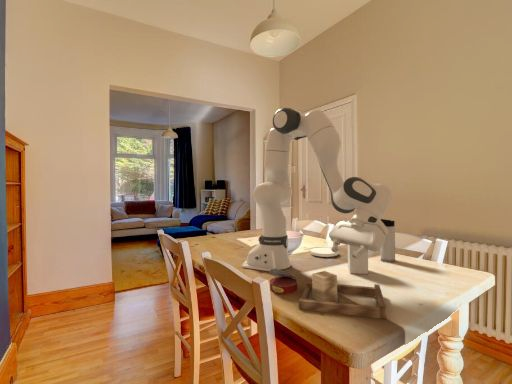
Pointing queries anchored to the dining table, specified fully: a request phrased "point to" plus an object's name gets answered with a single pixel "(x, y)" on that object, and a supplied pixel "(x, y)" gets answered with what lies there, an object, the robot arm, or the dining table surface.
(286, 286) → the canned food
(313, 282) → the tan wooden block
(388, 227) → the travel mug
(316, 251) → the plastic lid
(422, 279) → the dining table surface
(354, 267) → the milk carton
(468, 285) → the dining table surface
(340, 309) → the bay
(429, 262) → the dining table surface
